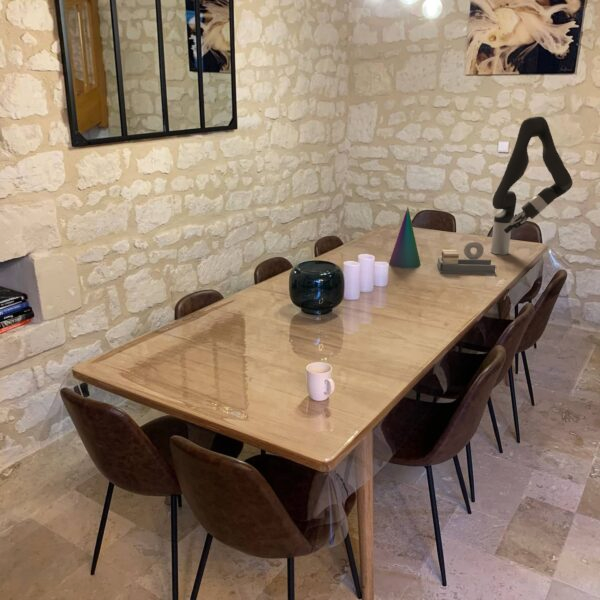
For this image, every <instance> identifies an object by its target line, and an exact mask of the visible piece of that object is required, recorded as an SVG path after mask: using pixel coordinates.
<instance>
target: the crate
mask: <svg viewBox="0 0 600 600" xmlns="http://www.w3.org/2000/svg"><path fill="white" fill-rule="evenodd" d="M459 256H460V255H459V251H458V250H457V249H441V257H440V258H441V260H442V262H443V264H458V259H460V258H459Z"/></svg>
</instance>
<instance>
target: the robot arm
mask: <svg viewBox="0 0 600 600" xmlns="http://www.w3.org/2000/svg"><path fill="white" fill-rule="evenodd" d="M551 132H552V131H551V130H550V126H549V124H548V121H547V119H546V118H545V117H543V116H532V117H527V118H525V119H524V120H523V121H522V122H521V124H520V127H519V130H518V134H517V137H516V142H515V144H514V147H513V150H512V153H511V156H510V158H509V160H508V163H507V166H506V168H505V171H504V173H503V176H502V177H501V181H500V183H499V184H498V186H497V188H496V191H495V192H494V195H493V198H492V207H493V208H494V209H495V210H501V212H500V213H498V214H496V215H494V218H493V225H492V226H493V228H492V237H491V247H490V253H491V254H495V255H501V256H502V255H504V256H505V255H508V254H509V252H510V244H511V243H510V242H511V235H512V233H511V232H512V230H513V229H519V228H520V227H522V226H524V225H525V224H526V221H527V220H528V219H529V218H530V219H531V220H533V219H534V218H536V217H537V216H538V215H539V214H540V213H541V212H542V211H544V210H545V209H546V208H547V207H548V206H549V205H550V204H551V203H552V202H553V201H555V200H556V199H557V198H559V197H561V196H563V195H565V193H567V192H568V191H569V190H570V189H571V188H572V186H573V179H572V176H571V173H570V172H569V171H568V169H567V168H566V167H565V165H564V162H563V159H562V158H561V157H560V154H559V152H558V150H557V148H556V145H555V142H554V139H553V135H552V133H551ZM536 137H538V138H539V141H541V143H542V160H543V163H544V164H545V166H546V168H547V171H548V172H549V174H550V175H551V177H552V180H553V181H554V183H553V184H552V185H550V186H549V187H548V186H547V187H545V188H543V189H542V190H541V191H540V192H539V193H537V194H536V195H535V196H533V197H531V199H529V200H528V202H526V203H525V204H524V205H522V206H521V210H522V211H521V212H518V213H516V214H515V211H516V206H517V195H516V193H515V192H514V191H510V189H511V188H512V186H514V184H516V183H517V182H518V181H520V179H521V178H523V176H524V174H525V173H526V170H527V168H528V165H529V163H530V161H529V160H530V159H529V158H530V157H529V154H528V153H529V152H528V146H529V144H530V141H531V139H532V138H536Z"/></svg>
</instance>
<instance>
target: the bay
mask: <svg viewBox="0 0 600 600" xmlns="http://www.w3.org/2000/svg"><path fill="white" fill-rule="evenodd" d="M441 258H442V257H441V256H438V257H437V264H436V266H437V269H438V270H439V273H440V274H451V275H454V274H455V275H492V274H495V275H496V274H497V273H496V265H495V264H492V259H481V258H479V259H469V258H467V259H466V258H458V264H443V262H442V260H441Z"/></svg>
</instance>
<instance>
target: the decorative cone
mask: <svg viewBox="0 0 600 600" xmlns="http://www.w3.org/2000/svg"><path fill="white" fill-rule="evenodd" d="M413 227H414V226H413V223H412V218H411V213H410V209H409V206H407V207H406V211H405V213H404V217H403V220H402V222H401V226H400V229H399V232H398V235H397V238H396V241H395V244H394V247H393V250H392V253H391V256H390V259H389V261H388V264H389V266H391V267H394V268H397V269H398V268H399V269H414V268H415V269H416V268H419V267H420V266H421V265H422V264H421V259H420V255H419V250H418V246H417V241H416V237H415V233H414V231H415V230H414V228H413Z"/></svg>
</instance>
